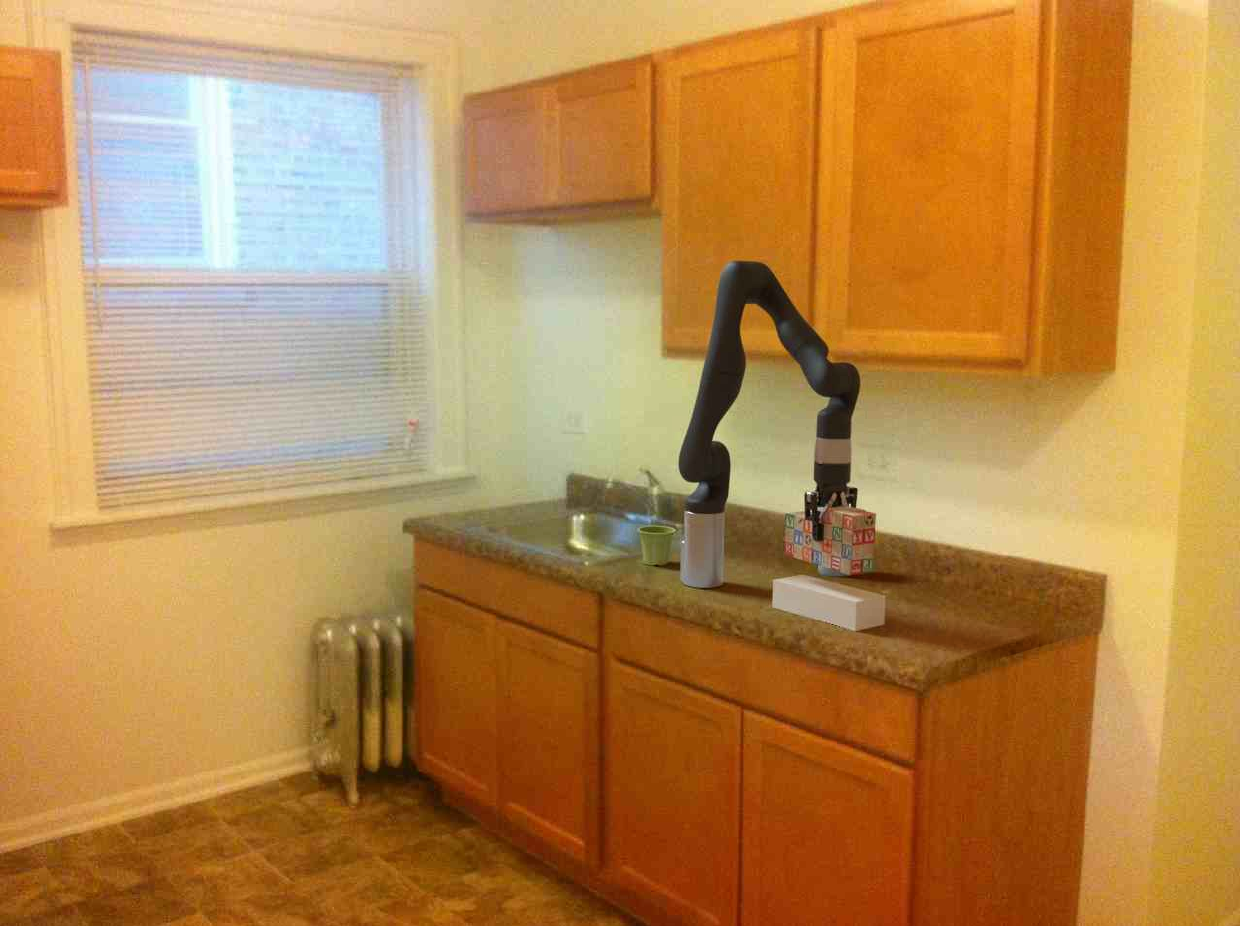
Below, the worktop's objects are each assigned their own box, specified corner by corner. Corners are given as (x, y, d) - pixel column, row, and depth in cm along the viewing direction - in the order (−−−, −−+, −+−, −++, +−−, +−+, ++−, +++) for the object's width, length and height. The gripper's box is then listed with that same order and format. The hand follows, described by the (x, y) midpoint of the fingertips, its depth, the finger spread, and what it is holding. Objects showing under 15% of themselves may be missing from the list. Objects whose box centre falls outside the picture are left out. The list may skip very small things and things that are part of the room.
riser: (772, 607, 251) (773, 579, 251) (801, 601, 257) (802, 574, 256) (855, 631, 234) (856, 602, 233) (884, 624, 239) (885, 595, 238)
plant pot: (682, 563, 293) (682, 529, 292) (658, 569, 286) (659, 534, 285) (653, 557, 299) (653, 524, 298) (629, 563, 292) (630, 529, 291)
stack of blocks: (783, 555, 252) (785, 498, 250) (806, 552, 255) (808, 496, 253) (850, 575, 234) (853, 514, 232) (874, 572, 237) (876, 512, 235)
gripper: (842, 455, 248) (839, 532, 251) (795, 459, 239) (792, 539, 242) (869, 459, 242) (866, 538, 245) (822, 464, 234) (819, 546, 236)
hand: (829, 538), depth 243 cm, fingers closed on stack of blocks, 6 cm apart
